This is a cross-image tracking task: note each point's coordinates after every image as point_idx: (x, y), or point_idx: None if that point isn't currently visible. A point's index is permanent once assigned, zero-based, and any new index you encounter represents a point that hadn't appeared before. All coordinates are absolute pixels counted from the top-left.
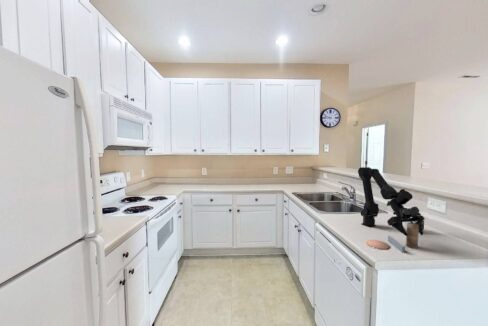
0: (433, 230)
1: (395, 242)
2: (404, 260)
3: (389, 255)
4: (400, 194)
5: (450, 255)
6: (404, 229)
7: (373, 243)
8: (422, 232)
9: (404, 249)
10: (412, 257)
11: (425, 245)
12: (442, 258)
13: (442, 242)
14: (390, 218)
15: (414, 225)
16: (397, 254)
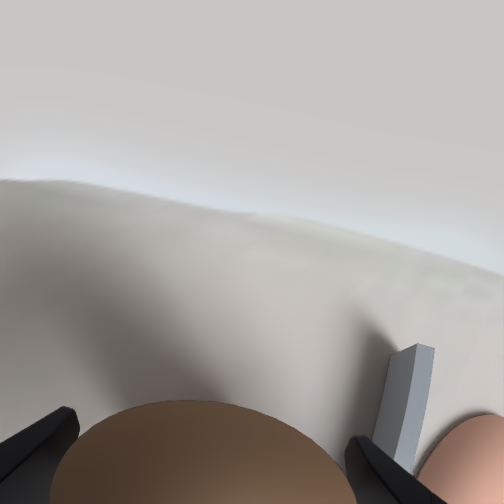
0: None
1: (407, 463)
2: (452, 260)
3: (492, 328)
4: None
5: (83, 236)
6: (406, 490)
7: (492, 491)
8: (52, 418)
9: (405, 350)
10: (389, 279)
11: None
12: (188, 218)
13: None
14: None
15: (259, 453)
16: (450, 335)
